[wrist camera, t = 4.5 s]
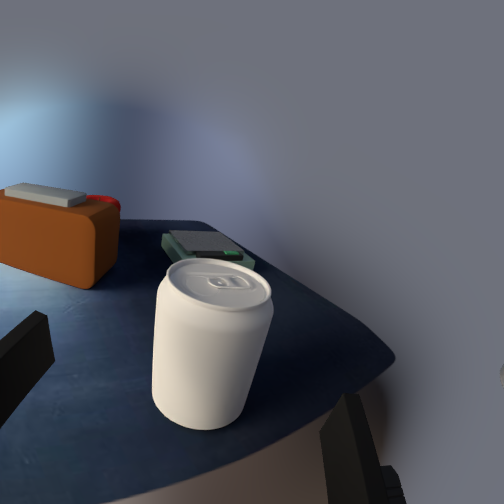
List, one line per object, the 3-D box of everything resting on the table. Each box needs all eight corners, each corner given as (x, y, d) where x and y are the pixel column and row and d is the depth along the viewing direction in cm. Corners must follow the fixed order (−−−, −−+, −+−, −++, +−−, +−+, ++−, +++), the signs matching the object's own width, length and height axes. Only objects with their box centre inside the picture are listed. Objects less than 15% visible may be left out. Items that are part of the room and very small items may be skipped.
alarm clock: (117, 269, 43) (123, 196, 39) (94, 293, 35) (97, 208, 31) (8, 240, 40) (8, 177, 37) (-20, 255, 32) (-23, 186, 29)
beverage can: (142, 373, 25) (148, 254, 21) (219, 363, 29) (244, 256, 25) (168, 442, 18) (180, 317, 15) (259, 421, 23) (302, 305, 19)
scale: (252, 274, 53) (257, 254, 52) (183, 276, 46) (186, 254, 45) (220, 246, 63) (223, 229, 62) (161, 245, 56) (163, 227, 55)
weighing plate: (243, 254, 54) (244, 250, 54) (186, 253, 48) (186, 250, 47) (219, 234, 61) (220, 232, 61) (168, 233, 55) (169, 230, 55)
